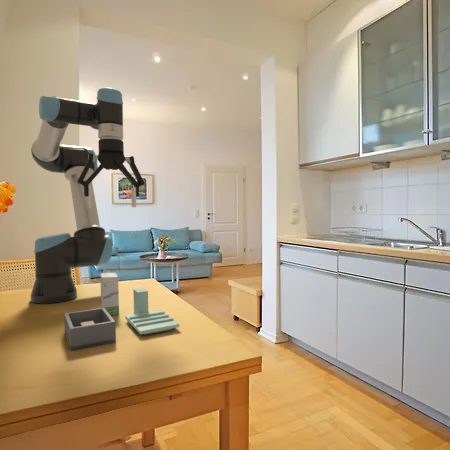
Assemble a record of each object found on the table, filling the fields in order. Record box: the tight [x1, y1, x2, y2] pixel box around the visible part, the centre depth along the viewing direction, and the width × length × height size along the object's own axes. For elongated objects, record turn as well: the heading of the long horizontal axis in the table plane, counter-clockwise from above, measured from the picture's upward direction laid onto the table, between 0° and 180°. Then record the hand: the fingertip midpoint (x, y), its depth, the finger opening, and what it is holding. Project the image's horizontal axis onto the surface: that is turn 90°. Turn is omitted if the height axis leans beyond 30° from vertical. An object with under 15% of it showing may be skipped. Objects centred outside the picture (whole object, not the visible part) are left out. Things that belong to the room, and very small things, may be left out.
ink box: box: [100, 272, 120, 316], centre depth 109 cm, size 8×5×12 cm, turn 23°
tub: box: [64, 307, 117, 351], centre depth 87 cm, size 10×14×5 cm
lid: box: [124, 287, 180, 335], centre depth 97 cm, size 10×20×8 cm, turn 30°
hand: (112, 207), depth 111 cm, fingers open, 13 cm apart
